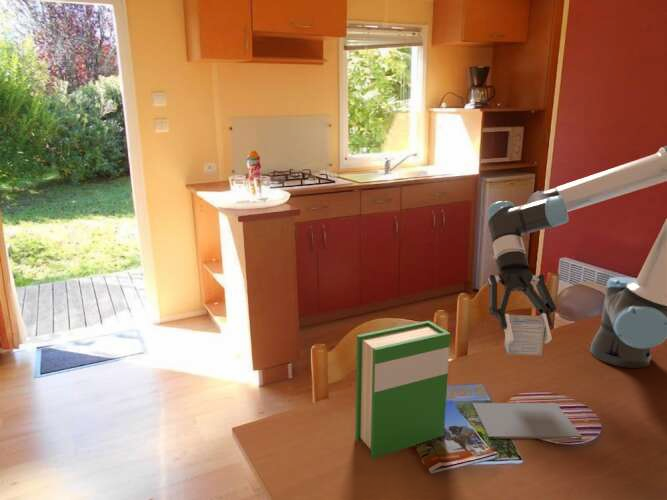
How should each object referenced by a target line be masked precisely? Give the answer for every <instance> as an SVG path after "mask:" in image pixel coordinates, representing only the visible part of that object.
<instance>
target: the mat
mask: <svg viewBox="0 0 667 500" xmlns="http://www.w3.org/2000/svg"><path fill="white" fill-rule="evenodd" d="M473 406H474V407H473ZM472 407H473V409H474V408H475V409H474V411H475V414H476V416H477V415H478V416H477V417H479V418H478V419H480V420H479V421H481V422H480V424H481V423H482V424H481V426H482V425H483V426H482V428H483V427H484V428H483V430H484V429H485V430H484V432H485V431H486V432H485V434H486V433H487V434H486V436H487V435H488V436H487V438H488V437H496V438H495V439H498V438H497V437H500V438H499V439H572V438H571V437H583V436H582V435H581V433H580V432H579V431H578V429H577V428H576V427H575V425H574V424H573V423H572V422H571V420H570V419H569V417H568V416H567V414H566V413H564V411H563V410H562V409H561V407H560V406H559V405H558V404H557V402H544V403H543V402H530V403H529V402H526V403H525V402H500V403H499V402H496V403H495V402H494V403H493V402H487V403H486V402H485V403H484V402H483V403H482V402H473V403H472ZM565 437H566V438H565Z"/></svg>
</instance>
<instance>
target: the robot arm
mask: <svg viewBox="0 0 667 500" xmlns="http://www.w3.org/2000/svg"><path fill="white" fill-rule="evenodd" d="M665 182H667V145H664V146H662V147H660V148H659V149H658V151H657V152H656V153H654V154H651V155H648V156H645V157H642V158H639V159H636V160H633V161H629V162H627V163H624V164H621V165H617V166H615V167H613V168H612V167H611V168H609V169H607V170H604V171H600V172H597V173H593V174H592V175H588V176H586V177H582V178H580V179H577V180H574V181H570V182H567V183H565V184H561V185H559V186H556V187H553V188H550V189H546V190H537V191H536V192H534V193H532V194H531V195H530V196H529V198H528V200H527V202H526V203H525V204H521V205H517V206H515V204H514V203H513V202H511V201H509V200H505V201H503V200H500V201H496V202H493V203H492V204H490V205H489V206H488V208H487V211H486V218H487V226H488V229H489V234H490V239H491V243H492V249H493V252H494V253H493V254H494V257H495V258H494V259H496V260H495V263H496V268H497V272H498V275H494V274H490V275H489V277H488V279H487V284H488V287H489V307H488V311H489V313H488V314H489V315H490V316H495V318H496V319H498V323H499V328H500V330H504V335H505V336H506V341H507V344H510V343H511V342H512V341H513V340H514V338H513V333H512V328H511V323H510V318H509V315H510V314H509V313H506V310H507V308H508V307H507V306H508V302H509V301H510V300H509V299H510V296H511V292H516V291H518V292H521V293H523V295H524V296H526V297H527V298H528V300H529V301H530V302H531V303H532V305H533V306H534V307H535V309H536V310H537V312H538V313H539V316H540V317H541V319H542V320H543V321H544V323H545V328H544V337H543V344H548V343H549V342H551V341H552V340H553V336H552V332H551V328H552V325H553V323H552V319H551V316H550V315H552V314H553V313H554V312H555V311H556V310H557V307H556V305H555V303H554V302H555V301H554V300H553V298H552V296H551V293H550V292H549V289H548V286H547V285H546V281H545V275H543V274H542V273H541V274H539V275H535V274H534V275H533V274H532V272H531V271H530V265H529V261H528V256H527V254H526V249H525V244H524V240H523V237H522V235H527V234H530V233H534V232H538V231H543V230H546V229H550V228H557V227H558V226H561V225H564V224H567V223H568V222H569V220H570V219H569V218H570V217H569V214H568V212H571V211H574V210H578V209H581V208H584V207H588V206H591V205H594V204H597V203H601V202H603V201H607V200H610V199H614V198H617V197H619V196H623V195H626V194H629V193H633V192H635V191H636V192H637V191H639V190H642V189H645V188H649V187H651V186H652V187H653V186H655V185H658V184H662V183H665ZM647 255H648V256H647V257H646V259H645V261H644V263H643V265H642V268H641V270H640V272H639V273H638V276H637V278H636V277H627V276H626V277H625V276H615V277H614V276H613V277H610V278H609V279H608V280H607V283H606V285H605V294H604V295H605V296H604V300H603V306H602V307H603V308H602V315H601V320H600V321H601V322H600V327H599V329H598V330H597V332H596V334H595V336H594V338H593V339H592V340H591V345H590V349H589V350H590V353H591V355H593V357H594V358H596V359H598V360H600V361H601V362H604V363H606V364H609V365H612V366H615V367H616V366H617V367H620V368H621V367H622V368H627V369H628V368H629V369H641V368H644V367H647V366H649V365H650V364H651V358H652V352H651V348H654V347H658V346H660V345H661V344H662V343H664V342H665V341H666V339H667V218H666V219H665V221H664V223H663V225H662V227H661V229H660V232H659V233H658V235H657V237H656V239H655V241H654V243H653V244H652V246H651V249H650V251H649V253H648V254H647ZM531 281H532V282H533V284H534V285H535V288H536V289H537V291H536V290H535V289H534V285H533V284H532V283H531ZM498 283H500V284H501V285H502V286H504V288H503V291H502V296H501V300H500V303H499V306H498ZM537 292H538V293H537Z"/></svg>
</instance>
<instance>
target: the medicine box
mask: <svg viewBox="0 0 667 500" xmlns="http://www.w3.org/2000/svg"><path fill="white" fill-rule="evenodd" d="M509 318H510V323H511V328H512V333H513V338H514V340H513V341H512V342H511V343H510V344H507V341H506V336H505V337H504V348H505V350H506V353H507V354H508V355H518V356H519V355H520V356H521V355H522V356H524V355H525V356H526V355H527V356H542V355H543V354H542V352H543V345H544V339H543V337H544V328H545V323H544V321H543V320H542V319H541V317H540V315H523V314H522V315H521V314H509Z"/></svg>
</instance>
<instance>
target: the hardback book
mask: <svg viewBox="0 0 667 500" xmlns="http://www.w3.org/2000/svg"><path fill="white" fill-rule="evenodd" d="M450 343H451V332H449V331H448V330H446V329H444V328H442V327H440V326H439V325H437V324H436V323H433V322H432V321H430V320H425V321H424V320H423V321H420V322H416V323H411V324H406V325H401V326H396V327H391V328H386V329H381V330H377V331H376V330H375V331H371V332H366V333H362V334H357V335H356V366H355V367H356V368H355V369H356V371H355V372H356V373H355V374H356V376H355V378H356V379H355V380H356V381H355V383H356V384H355V434H354V435H355V440H356V441H357V442H359V441H362V442H363V443H364V444H365V445H366V446H367V447H368V448H369V450H370V458H371V459H373V460H374V459H376V458H380V457H382V456H386V455H388V454H389V455H390V454H394V453H395V452H398V451H401V450H405V449H408V448H411V447H415V446H417V445H420V444H419V443H421V444H423V443H422V442H424V443H426V441H427V442H429V441H428V440H430V441H433V440H436V439H438V438H437V437H439V436H442V435H444V436H445V422H446V421H445V420H446V404H447V391H448V376H449V375H448V374H449V360H450V359H449V358H450V345H451V344H450ZM442 437H443V436H442ZM435 438H436V439H435ZM439 438H440V437H439ZM432 439H433V440H432ZM416 444H417V445H416Z"/></svg>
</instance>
